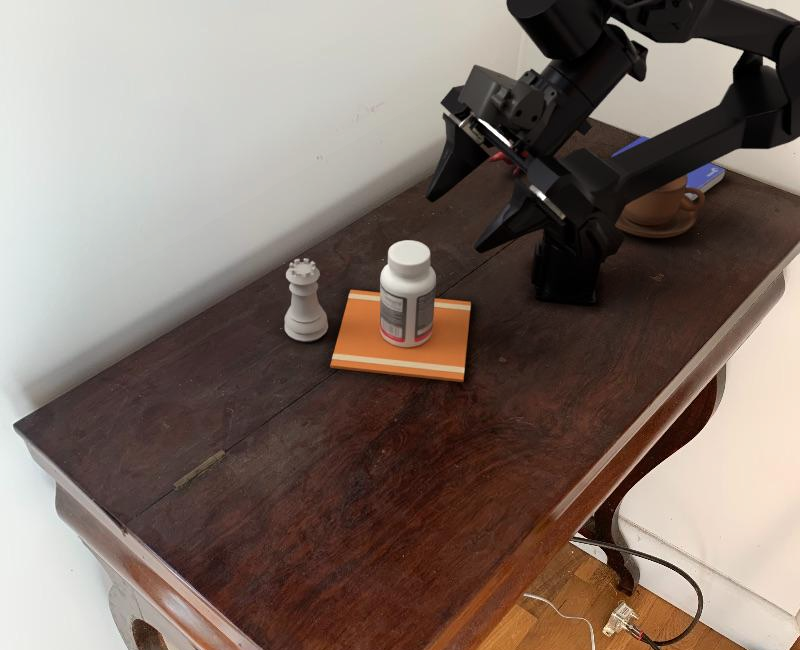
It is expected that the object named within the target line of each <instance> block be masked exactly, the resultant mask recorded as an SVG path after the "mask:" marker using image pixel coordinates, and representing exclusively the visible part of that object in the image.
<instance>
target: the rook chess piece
mask: <svg viewBox="0 0 800 650" xmlns="http://www.w3.org/2000/svg"><path fill="white" fill-rule="evenodd" d="M288 267H289V268H288V269H287V270H286V272H285V278H286V279H287V281H288V282H289V283H290V284H289V285H288V286H289V291H290V292H291V302H290V305H289V307H288V309H287V311H286V313H285V315H284V331H285V333H286V334H287V336H289V337H290V338H291V339H293V340H295V341H296V342H301V343H312V342H314V341H318V340H319V339H321V338H322V337H323V336H324V335H325V334H326V333H327V332H328V329H329V323H328V316H327V313H326V311H324V309H323V307H322V306H321V305H320V303H319V298H318V295H317V291H318V289H319V283H318V282H317V281H318V279H319V278H320V276H321V272H320V270H319V269H318V268H317V267H316V262H314V260H312V261H310V259H309V258H305V257H304V258H303V261H302V262H301V261H300V258H296V259H294V260H293V262H290V263H289V265H288Z"/></svg>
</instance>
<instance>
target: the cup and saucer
mask: <svg viewBox="0 0 800 650" xmlns="http://www.w3.org/2000/svg"><path fill="white" fill-rule="evenodd" d="M687 182H688V177H687V174H686V175H684V176H682V177H680V178H678V179H676V180H674V181H672V182H670V183H668V184H666V185H664V186H662V187H660V188H658V189H656V190H654V191H652V192H650V193H648V194H646V195H644V196H642V197H640V198H638V199H636V200H634V201H632V202H630V203H629V204H627V205H626V206H625V208H624V210H623V212H622V213H621V215H620V217H619V219H618V220H617V222H616V224H615V226H616V227H617V228H618V229H619V230H620V231H621V232H623V233H626V234H629V235H632V236H636V237H639V238H647V239H666V238H671V237H677V236H678V235H681V234H684V233H686V232H688V231H689V230H690V229H691V228H692V227H693V226H694V225H695V223H696V221H697V219H698V217H699V215H698V214H699V213H698V210H700V209H701V208H702V207H703V206H704V204H705V202H706V196H705V194H704V193H703V192H702V191H701V190H699V189H697V188H693V187H686V185H687ZM687 193H694V194H696V195H697V196H698V197H697V198H698V202H697V203H696V204H695V203H694V201H693V200H691V199H690V198H689V197H687V196H686V195H685V194H687Z"/></svg>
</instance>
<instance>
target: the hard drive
mask: <svg viewBox="0 0 800 650" xmlns="http://www.w3.org/2000/svg"><path fill="white" fill-rule="evenodd" d="M650 138H651V137H650ZM650 138H649V137H647V136H645V135H643V136H640V137H639V138H637V139H636V140H634V141H633V142H631V143H629V144H628V145H626V146H624V147H622V148H621V149H619V150H618V151H616V152H614V153H613V154H612V155H611V156H610V158H611V157H613V156H615V155H617V154H619V153H621V152H623V151H625V150H627V149H629V148H631V147H634V146H636V145H638V144H640V143H642V142H644V141H646V140H648V139H650ZM725 174H726V169H724V168H722V167H721V166H718V165H715V164H712V163H711V162H710V163H708V164H706V165H704V166H702V167H700V168H698V169H696V170H694V171H692V172H690V173H688V174H687V177H688V182H687V185H686V187H693V188H697V189H699V190H701V191H702V192H703V194H704V193H706V192H707V191H708V190H710V189H711V188H713V187H714V186H715V185H716V184H718V183H719V182H721V181H722V179H723V178H724V176H725ZM685 195H686V196H687V197H689V198H690V199H691V200H692V201H695V200H696V199H697V198H699V197H698V196H697V195H696V194H694V193H687V194H685Z"/></svg>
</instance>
